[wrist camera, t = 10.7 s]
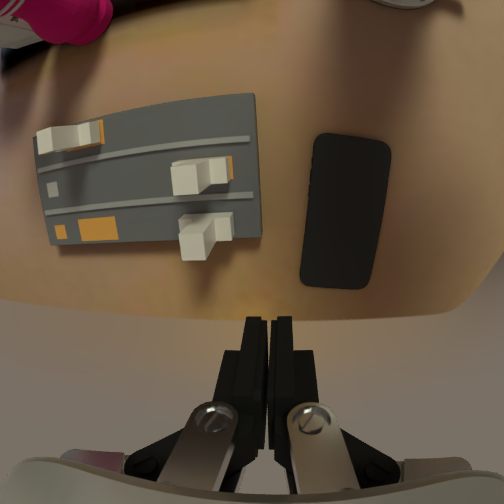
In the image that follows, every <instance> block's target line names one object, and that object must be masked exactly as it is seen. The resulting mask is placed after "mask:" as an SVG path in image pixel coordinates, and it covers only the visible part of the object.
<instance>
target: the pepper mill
mask: <svg viewBox="0 0 504 504" xmlns="http://www.w3.org/2000/svg"><path fill="white" fill-rule="evenodd" d="M112 14H113V7H112V4H111V2H110V0H0V19H4V18H7V17H9V16H15V17H18V18H21V19H23V20H24V21H26V22H27V23H28V24H29V25H30V27H31V28H32V30H33V31H34V32H35V34H36V35H37V36H39V37H40V38H41V39H43V40H45V41H47V42H50V43H55V44H60V43H64V42H67V43H71V44H74V45H85V44H88V43H91V42H92V41H94V40H95V39H97V38H98V37H99V36H100V35H101V34H102V33H103V32H104V31H105V30H106V28H107V27H108V25H109V23H110V21H111V18H112Z"/></svg>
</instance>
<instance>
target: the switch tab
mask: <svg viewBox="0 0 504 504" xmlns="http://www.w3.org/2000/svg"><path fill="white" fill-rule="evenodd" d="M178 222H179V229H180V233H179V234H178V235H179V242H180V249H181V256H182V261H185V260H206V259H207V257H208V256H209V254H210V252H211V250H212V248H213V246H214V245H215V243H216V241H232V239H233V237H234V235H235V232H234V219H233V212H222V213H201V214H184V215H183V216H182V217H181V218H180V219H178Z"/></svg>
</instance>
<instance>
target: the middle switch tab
mask: <svg viewBox="0 0 504 504" xmlns="http://www.w3.org/2000/svg"><path fill="white" fill-rule="evenodd" d="M170 168H171V178H172V187H173V196H177V195H190V194H199V193H200V192H202V191H203V190H204V189H206V188H207V187H208V186H209V185H211V184H221V183H228V182H229V181H230V166H229V156H228V157H214V158H202V159H191V160H181V161H176V162H173V163H172V167H170Z"/></svg>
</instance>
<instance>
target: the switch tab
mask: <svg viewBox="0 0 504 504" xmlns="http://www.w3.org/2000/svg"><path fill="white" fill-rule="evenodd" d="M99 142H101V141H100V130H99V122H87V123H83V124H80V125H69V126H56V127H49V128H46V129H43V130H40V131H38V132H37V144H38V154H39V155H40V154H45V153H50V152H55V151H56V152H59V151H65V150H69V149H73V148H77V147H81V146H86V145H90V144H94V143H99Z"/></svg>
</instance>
